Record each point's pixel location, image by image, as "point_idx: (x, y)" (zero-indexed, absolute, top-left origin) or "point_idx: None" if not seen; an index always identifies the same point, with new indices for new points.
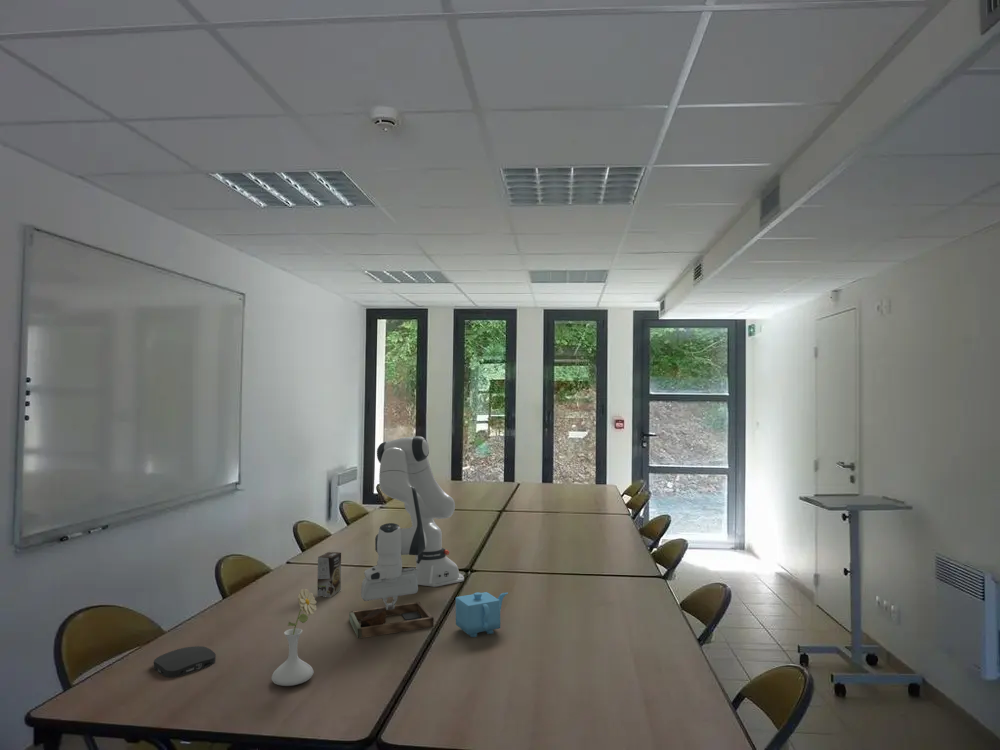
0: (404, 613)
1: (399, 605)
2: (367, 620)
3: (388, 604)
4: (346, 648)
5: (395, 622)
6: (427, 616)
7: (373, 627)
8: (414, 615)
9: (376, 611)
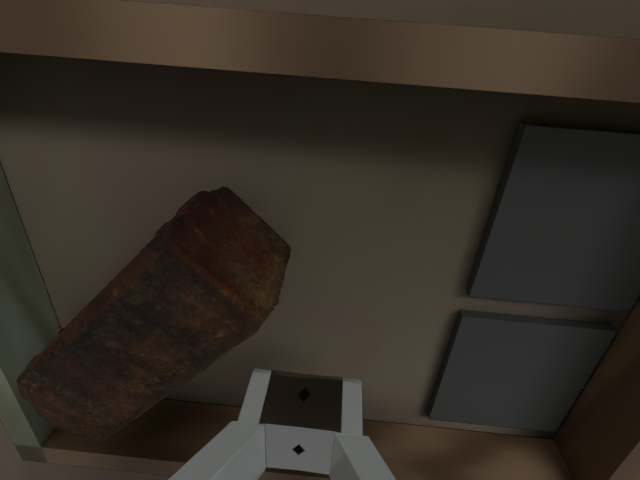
0: (561, 138)
1: (585, 77)
2: (68, 428)
3: (274, 450)
4: (19, 464)
5: (303, 477)
6: (604, 461)
7: (134, 468)
8: (606, 247)
9: (147, 331)
